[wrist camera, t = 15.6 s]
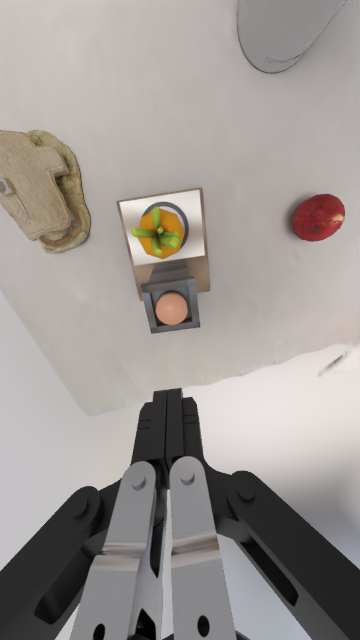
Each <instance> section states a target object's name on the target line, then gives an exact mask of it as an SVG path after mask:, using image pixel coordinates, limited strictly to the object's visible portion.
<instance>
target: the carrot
mask: <svg viewBox="0 0 360 640" xmlns="http://www.w3.org/2000/svg"><path fill="white" fill-rule="evenodd" d="M131 234H132V235H133V237H137V238H138V240H139V242H140V243H141V245H142V247H143V249H144V251H145V252H146V254H148V255H151V256H154V257H157V258H160V259H165V258H167V257H169V256H171V255H173V254H175V253H177V252H179V250H180V247H181V244H182V240H183V237H184V234H185V232H184V230H183V228H182V225H181V223H180V221H179V219H178V217H177V214H174V213H171V212H169V211H166V210H163V209H161V208H159V207H158V206H156V207H154V208H153V210H152V211H151V212H150V213H148V214H146V215H145V216H143V217H141V221H140V226H139V228H132V229H131Z"/></svg>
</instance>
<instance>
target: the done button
mask: <svg viewBox="0 0 360 640" xmlns="http://www.w3.org/2000/svg"><path fill="white" fill-rule="evenodd" d="M187 311H188V310H187V303H186V299H185V297H184V296H183V295H182V294H181V293H179V292H177V291H166V292H164V293H163V294H161V295H160V297H159V298H158V301H157V306H156V314H157V317H158V318H159V320H160V321H162V322H163V323H165V324H168V325H175V324H179V323H180V322H182V321H183V320H184V319H185V318H186V316H187Z"/></svg>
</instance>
